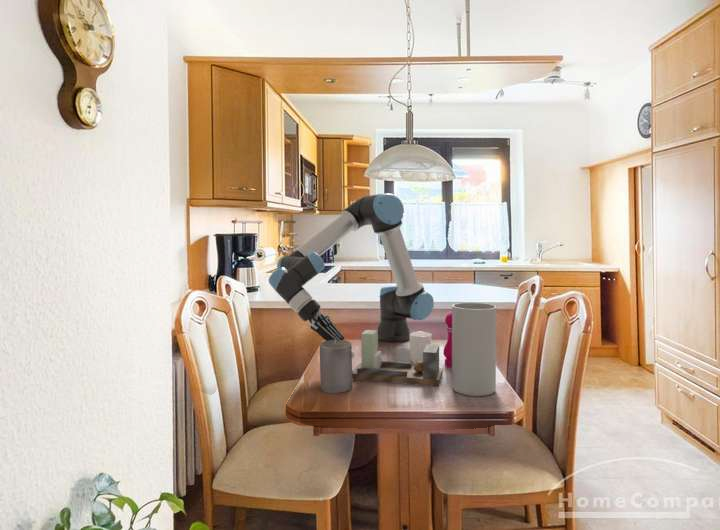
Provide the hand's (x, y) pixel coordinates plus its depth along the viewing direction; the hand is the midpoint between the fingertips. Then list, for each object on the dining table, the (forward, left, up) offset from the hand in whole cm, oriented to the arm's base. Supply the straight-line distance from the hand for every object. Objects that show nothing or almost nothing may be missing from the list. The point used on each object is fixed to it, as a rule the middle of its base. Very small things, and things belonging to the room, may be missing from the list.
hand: (353, 357), depth 152 cm
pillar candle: (+14, +4, -6) cm, 16 cm away
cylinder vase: (-7, +39, -6) cm, 40 cm away
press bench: (-5, +14, -6) cm, 16 cm away
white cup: (-25, +12, -6) cm, 28 cm away
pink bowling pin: (-27, +24, -6) cm, 37 cm away
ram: (-2, +6, -3) cm, 7 cm away
